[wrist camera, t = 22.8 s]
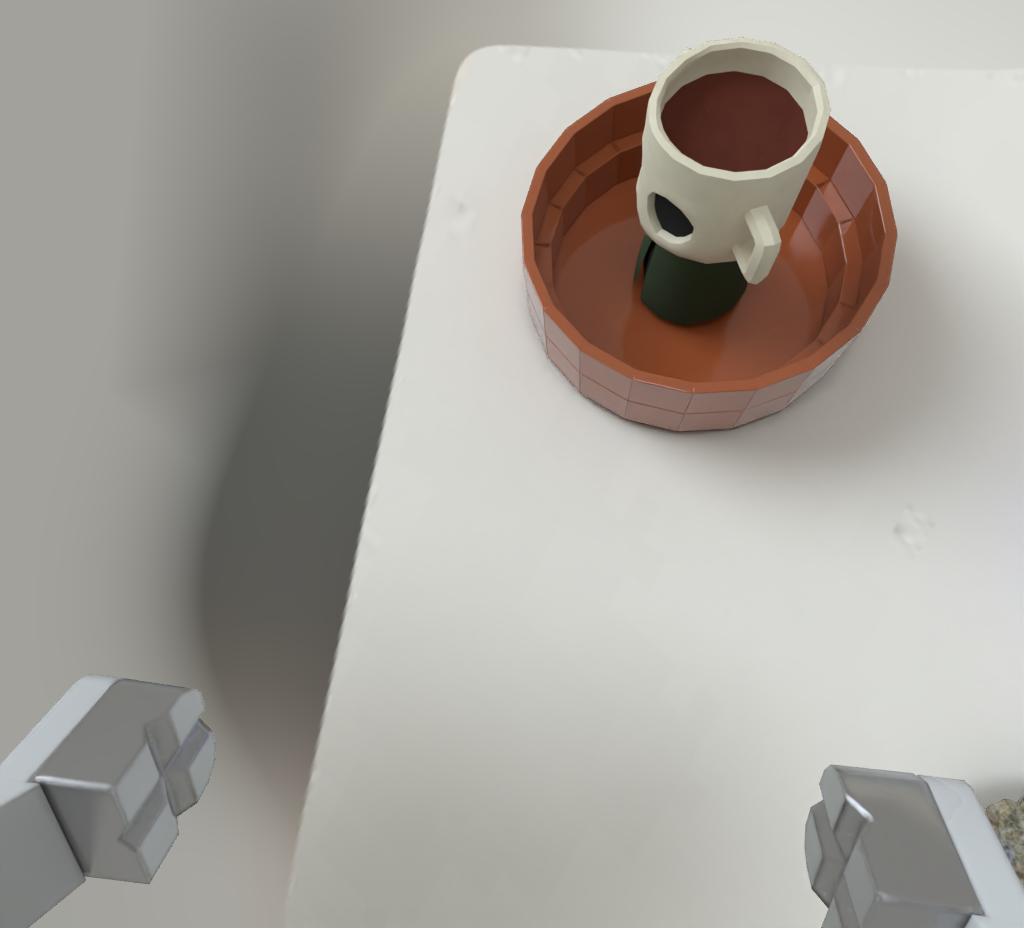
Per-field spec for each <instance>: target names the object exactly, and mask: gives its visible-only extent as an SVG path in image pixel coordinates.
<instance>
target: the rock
mask: <svg viewBox="0 0 1024 928" xmlns="http://www.w3.org/2000/svg"><path fill="white" fill-rule="evenodd" d="M986 813H987V817H988V819H989V821H990V823H991V825H992V827H993V829H994V831H995V833H996V835H997V837H998V839H999V841H1000V843H1001V845H1002V847H1003V849H1004V851H1005V853H1006V855H1007V857H1008V859H1009V861H1010V863H1011V865H1012V867H1013V869H1014V871H1015V873H1016V875H1017V877H1018V878H1019V880H1020V882H1021V884H1022V886H1023V888H1024V795H1023V796H1022V797H1021V798H1020V799H1019V801H1018V802H1017V803H1016V802H1014V801H1012V800H1007V799H1003V800H1001V801H999V802H998V803H996V804H992V805H990V806H989V807H988V808H987V809H986Z"/></svg>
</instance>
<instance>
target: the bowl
mask: <svg viewBox="0 0 1024 928" xmlns="http://www.w3.org/2000/svg"><path fill="white" fill-rule="evenodd" d="M656 82H657V81H655V82H652V83H650V84H647V85H644V86H641V87H639V88H636V89H633V90H630V91H628V92H625V93H622V94H619V95H617V96H614V97H611V98H609V99H607V100H605V101H604V102H603V103H601V104H600V105H598V106H597V107H596V108H594V109H593V110H591V111H590V112H589V113H587V114H586V115H584V116H583V117H582V118H580V119H579V120H577V121H576V122H575V123H573V124H572V125H570V126H569V127H568V128H567V129H565V131H564V132H563V133H562V134H561V136H560V137H559V138H558V140H557V141H556V142H555V144H554V145H553V146H552V148H551V149H550V150H549V152H548V153H547V154H546V155H545V157H544V158H543V159H542V161H541V162H540V163H539V165H538V166H537V168H536V170H535V173H534V176H533V179H532V182H531V185H530V188H529V191H528V194H527V198H526V201H525V204H524V207H523V210H522V214H521V225H522V251H523V266H524V273H525V281H526V288H527V296H528V303H529V311H530V315H531V318H532V320H533V322H534V325H535V327H536V330H537V332H538V335H539V337H540V339H541V342H542V344H543V347H544V349H545V351H546V354H547V355H548V357H549V358H550V359H551V361H552V362H553V363H554V364H555V365H556V366H557V367H558V368H559V370H560V371H561V372H562V373H563V374H564V375H565V376H566V377H567V379H568V380H569V381H570V382H571V383H572V384H573V385H574V386H575V388H576V389H577V390H578V391H579V392H580V393H581V394H583V395H585V396H587V397H588V398H590V399H592V400H593V401H595V402H597V403H599V404H600V405H602V406H604V407H605V408H607V409H609V410H611V411H612V412H614V413H616V414H617V415H619V416H621V417H622V418H625V419H627V420H632V421H636V422H640V423H644V424H648V425H653V426H657V427H661V428H665V429H670V430H674V431H677V430H678V431H691V430H709V429H726V428H735V427H737V426H740V425H743V424H745V423H748V422H751V421H753V420H756V419H759V418H761V417H764V416H767V415H769V414H772V413H775V412H778V411H780V410H782V409H784V408H785V407H786V406H788V405H789V404H790V403H791V402H793V401H794V400H795V399H796V398H798V397H799V396H800V395H801V394H803V393H804V392H805V391H806V390H808V389H809V388H810V387H811V386H813V385H814V384H815V383H816V382H818V381H819V380H820V379H821V378H822V377H823V376H824V375H825V374H826V372H827V371H828V370H829V369H830V368H831V367H832V365H833V364H834V363H835V362H836V361H837V359H838V358H839V357H840V356H841V355H842V353H843V352H844V351H845V350H846V349H847V347H848V346H849V345H850V344H851V343H852V341H853V340H854V339H855V338H856V337H857V335H858V334H859V333H860V332H861V331H862V329H863V327H864V326H865V324H866V322H867V321H868V319H869V317H870V316H871V314H872V312H873V311H874V309H875V307H876V306H877V304H878V302H879V301H880V299H881V298H882V296H883V294H884V293H885V291H886V289H887V288H888V285H889V282H890V276H891V270H892V264H893V258H894V252H895V246H896V240H897V229H896V225H895V220H894V215H893V211H892V206H891V202H890V197H889V192H888V188H887V184H886V182H885V180H884V179H883V177H882V175H881V174H880V172H879V171H878V169H877V168H876V166H875V164H874V163H873V161H872V160H871V158H870V157H869V155H868V154H867V152H866V150H865V149H864V147H863V146H862V144H861V143H860V141H859V140H858V139H857V138H856V137H855V136H854V135H853V134H851V133H850V132H849V131H848V130H846V129H845V128H844V127H843V126H842V125H840V124H839V123H838V122H837V121H835V120H834V119H833V118H832V117H831V116H829V119H828V122H827V126H826V129H825V133H824V137H823V140H822V143H821V146H820V149H819V151H818V153H817V156H816V158H815V160H814V162H813V164H812V166H811V168H810V171H809V173H808V175H807V177H806V179H805V181H804V184H803V186H802V188H801V190H800V192H799V194H798V196H797V199H796V201H795V203H794V205H793V207H792V209H791V211H790V214H789V216H788V218H787V220H786V222H785V224H784V226H783V227H782V228H781V229H780V230H779V235H780V238H781V246H780V251H779V253H778V255H777V257H776V259H775V261H774V263H773V265H772V267H771V269H770V271H769V273H768V276H767V277H765V278H764V279H763V280H762V281H761V282H759V283H758V284H752V283H747V287H746V291H745V293H744V294H743V295H742V297H741V298H740V299H739V301H738V302H737V303H736V305H735V306H734V307H733V309H732V310H730V311H728V312H726V313H724V314H722V315H721V316H719V317H717V318H715V319H713V320H711V321H707V322H701V323H694V324H688V325H681V324H678V323H675V322H672V321H669V320H666V319H663V318H660V317H658V316H657V315H656V314H655V313H654V312H652V311H651V310H650V309H649V308H648V307H647V306H646V305H644V304H643V303H642V301H641V298H640V295H641V291H642V288H643V284H644V259H643V262H642V264H641V267H640V270H639V273H638V276H637V279H636V282H634V279H633V277H634V272H635V267H636V262H637V257H638V254H639V251H640V247H641V244H642V241H643V238H644V235H645V231H644V229H643V228H642V226H641V224H640V219H639V215H638V210H637V193H636V185H637V181H638V177H639V173H640V170H641V167H642V136H643V132H644V128H645V122H646V114H647V108H648V102H649V99H650V96H651V94H652V92H653V89H654V87H655V84H656Z"/></svg>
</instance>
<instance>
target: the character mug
mask: <svg viewBox="0 0 1024 928" xmlns="http://www.w3.org/2000/svg"><path fill="white" fill-rule="evenodd" d="M830 112H831V109H830V104H829V100H828V96H827V91H826V87H825V83H824V81H823V80H822V79H821V78H820V76H819V75H818V74H817V73H816V72H815V70H814V69H813V68H812V67H811V66H810V64H809V63H808V62H807V61H806V60H805V59H804V58H802V57H801V56H798V55H797V54H795V53H793V52H791V51H789V50H788V49H786V48H784V47H782V46H780V45H778V44H776V43H772V42H767V41H761V40H755V39H750V38H744V37H738V38H730V39H722V40H714V41H708V42H706V43H704V44H702V45H700V46H698V47H696V48H694V49H691V48H688V47H687V48H686V49H685V50H684V51H682V52H681V53H680V55H679V56H678V57H677V59H676V60H675V61H674V62H673V63H672V64H671V65H670V66H669V67H668V68H667V69H666V70H665V71H664V72H663V73H662V74H661V75H660V76H659V77H658V80H657V82H656V84H655V87H654V89H653V92H652V94H651V96H650V99H649V102H648V108H647V114H646V122H645V128H644V132H643V136H642V167H641V170H640V173H639V177H638V181H637V185H636V193H637V210H638V215H639V219H640V224H641V226H642V228H643V229H644V231H645V235H644V238H643V241H642V244H641V247H640V251H639V254H638V257H637V262H636V267H635V272H634V277H633V279H634V282H636V279H637V276H638V273H639V270H640V267H641V264H642V262H643V259H644V284H643V288H642V291H641V295H640V298H641V301H642V303H643V304H644V305H646V306H647V307H648V308H649V309H650V310H651V311H652V312H654V313H655V314H656V315H657V316H658V317H660V318H663V319H666V320H669V321H672V322H675V323H678V324H681V325H688V324H694V323H701V322H707V321H711V320H713V319H715V318H717V317H719V316H721V315H722V314H724V313H726V312H728V311H730V310H732V309H733V307H734V306H735V305H736V303H737V302H738V301H739V299H740V298H741V297H742V295H743V294H744V293H745V291H746V287H747V283H752V284H758V283H759V282H761V281H762V280H763V279H764V278H765V277H767V276H768V273H769V271H770V269H771V267H772V265H773V263H774V261H775V259H776V257H777V255H778V253H779V251H780V246H781V238H780V235H779V230H780V229H781V228H782V227H783V226H784V224H785V222H786V220H787V218H788V216H789V214H790V211H791V209H792V207H793V205H794V203H795V201H796V199H797V196H798V194H799V192H800V190H801V188H802V186H803V184H804V181H805V179H806V177H807V175H808V173H809V171H810V168H811V166H812V164H813V162H814V160H815V158H816V156H817V153H818V151H819V149H820V146H821V143H822V140H823V137H824V133H825V129H826V126H827V122H828V119H829V115H830Z"/></svg>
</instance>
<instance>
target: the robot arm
mask: <svg viewBox="0 0 1024 928" xmlns="http://www.w3.org/2000/svg"><path fill="white" fill-rule="evenodd" d="M205 708H206V707H205V704H204V701H203V698H202V695H201V692H200V690H196V689H191V688H184V687H177V686H171V685H164V684H158V683H151V682H144V681H138V680H131V679H124V678H115V677H109V676H100V675H94V674H89V675H87V676H85V677H83V678H82V679H80V680H78V681H76V682H75V683H74V684H73V685H72V686H71V687H70V689H69V690H68V691H67V692H66V693H65V694H64V695H63V696H62V697H61V698H60V699H59V701H58V702H57V703H56V704H55V705H54V706H53V707H52V708H51V710H49V711H48V713H47V714H46V715H45V716H44V717H43V718H42V719H41V720H40V721H39V723H38V724H37V725H36V726H35V727H34V728H33V729H32V730H31V731H30V732H29V733H28V734H27V736H26V737H25V738H24V739H23V740H22V741H21V742H20V743H19V744H18V746H17V747H16V748H15V749H14V750H13V751H12V752H11V753H10V754H9V755H8V756H7V758H6V759H5V760H4V761H3V762H2V763H1V764H0V928H28V927H30V926H31V925H32V924H33V923H34V922H36V921H37V920H38V919H39V918H41V917H42V916H43V915H44V914H45V913H47V912H48V911H49V910H50V909H51V908H53V907H54V906H55V905H57V904H58V903H59V902H60V901H61V900H63V899H64V898H65V897H66V896H68V895H69V894H70V893H71V892H72V891H73V890H75V889H76V888H77V887H79V886H80V885H81V884H82V883H84V882H85V880H86V879H85V877H84V876H87V877H95V878H103V879H112V880H119V881H128V882H135V883H144V884H150V882H151V880H152V878H153V877H154V875H155V873H156V872H157V870H158V868H159V867H160V865H161V863H162V862H163V860H164V858H165V857H166V855H167V853H168V851H169V850H170V848H171V847H172V845H173V843H174V841H175V840H176V838H177V836H178V835H179V831H178V822H177V816H179V815H180V814H182V813H183V812H184V811H186V810H187V809H189V808H190V807H192V806H193V805H194V804H196V803H197V802H198V800H199V798H200V797H201V795H202V793H203V791H204V790H205V788H206V786H207V784H208V782H209V779H210V776H211V773H212V769H213V766H214V762H215V752H216V747H215V746H216V743H215V740H214V735H213V731H212V730H211V729H210V728H209V727H208V726H207V725H206V724H205V723H204V722H203V721H202V720H201V719H199V717H200V716H201V714H202V713H203V711H204V710H205ZM819 785H820V789H821V792H822V796H823V800H822V801H820V802H819V803H817V804H815V805H814V806H812V807H811V809H810V812H809V815H808V819H807V822H806V828H805V855H806V864H807V870H808V874H809V879H810V883H811V888H812V890H813V891H814V892H815V893H816V894H817V896H818V897H819V898H820V899H821V900H822V901H823V903H824V904H825V905H826V906H827V907H828V908H829V909H828V912H827V914H826V917H825V919H824V922H823V924H822V927H821V928H1024V888H1023V886H1022V884H1021V882H1020V880H1019V878H1018V877H1017V875H1016V873H1015V871H1014V869H1013V867H1012V865H1011V863H1010V861H1009V859H1008V857H1007V855H1006V853H1005V851H1004V849H1003V847H1002V845H1001V843H1000V841H999V839H998V837H997V835H996V833H995V831H994V829H993V827H992V825H991V823H990V821H989V819H988V817H987V815H986V814H985V812H984V810H983V808H982V806H981V804H980V802H979V800H978V798H977V796H976V794H975V792H974V790H973V789H972V788H971V787H970V786H969V785H968V784H967V783H966V782H965V781H964V780H957V779H948V778H940V777H932V776H924V775H915V774H913V773H905V772H896V771H887V770H877V769H868V768H859V767H849V766H840V765H830V766H828V767H827V768H826V769H825V770H824V772H823V775H822V777H821V780H820V783H819Z"/></svg>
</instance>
